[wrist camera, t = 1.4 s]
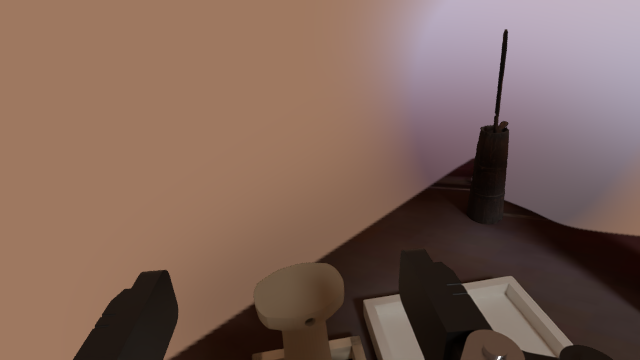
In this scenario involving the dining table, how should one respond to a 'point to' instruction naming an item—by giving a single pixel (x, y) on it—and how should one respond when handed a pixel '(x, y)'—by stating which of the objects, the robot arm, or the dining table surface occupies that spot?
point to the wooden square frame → (338, 349)
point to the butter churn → (490, 163)
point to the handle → (301, 307)
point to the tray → (494, 303)
